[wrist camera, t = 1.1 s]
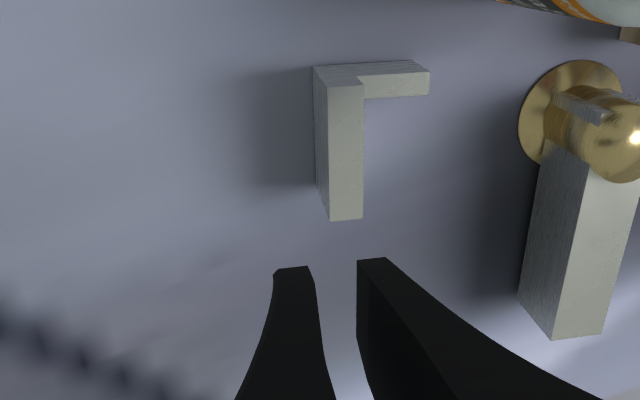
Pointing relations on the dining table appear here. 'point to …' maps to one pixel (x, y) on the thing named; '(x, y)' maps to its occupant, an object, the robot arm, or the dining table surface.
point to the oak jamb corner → (630, 35)
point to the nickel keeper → (352, 125)
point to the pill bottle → (589, 10)
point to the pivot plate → (543, 93)
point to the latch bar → (581, 210)
